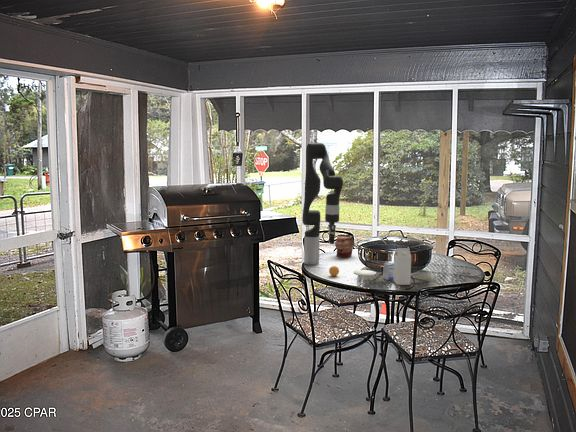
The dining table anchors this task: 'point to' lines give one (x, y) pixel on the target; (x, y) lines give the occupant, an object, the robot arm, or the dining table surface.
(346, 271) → the dining table surface
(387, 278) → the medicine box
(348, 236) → the decorative planter
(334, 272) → the ball
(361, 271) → the disc
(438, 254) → the dining table surface
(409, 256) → the milk carton
